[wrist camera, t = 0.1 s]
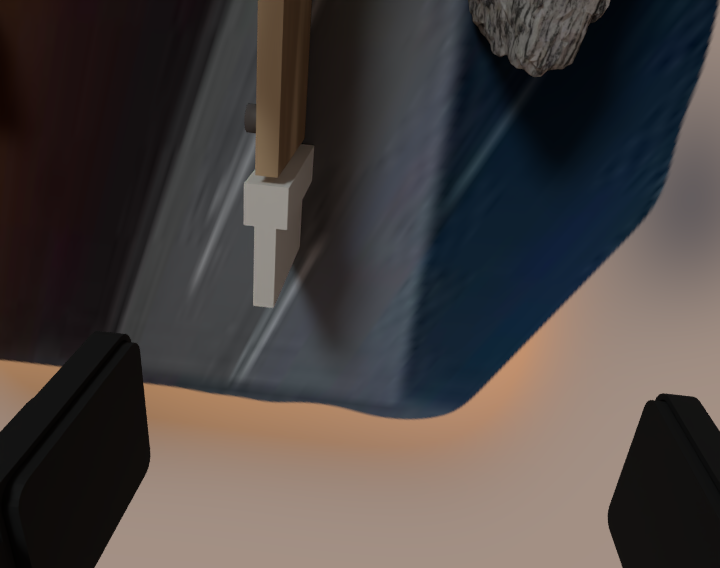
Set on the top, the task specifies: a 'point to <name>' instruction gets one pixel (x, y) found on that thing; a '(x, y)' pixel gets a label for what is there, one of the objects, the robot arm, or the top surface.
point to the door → (280, 83)
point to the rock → (536, 30)
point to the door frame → (276, 222)
